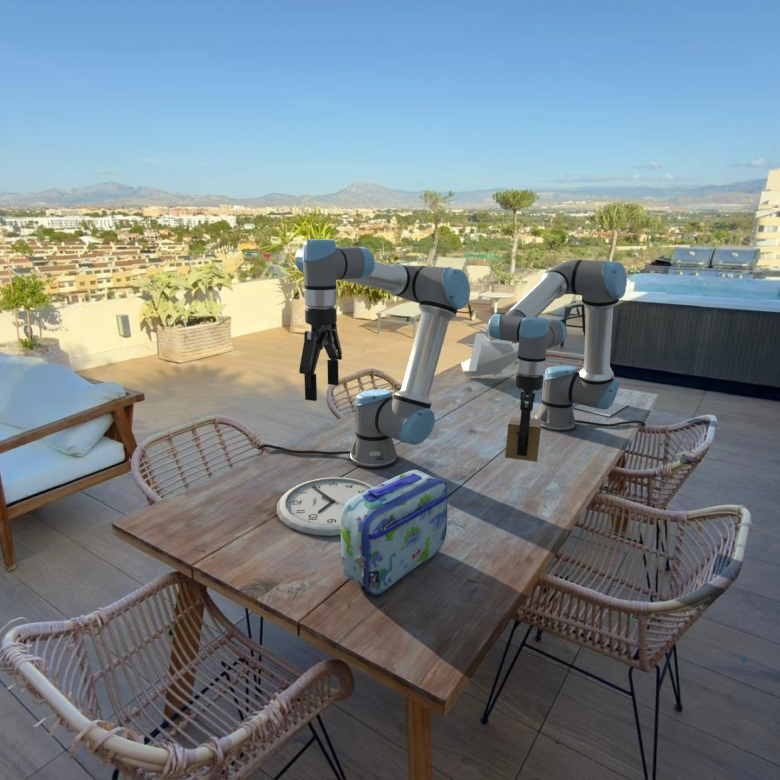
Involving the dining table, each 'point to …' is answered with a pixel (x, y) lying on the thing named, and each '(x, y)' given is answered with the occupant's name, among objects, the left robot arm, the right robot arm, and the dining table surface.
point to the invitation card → (606, 412)
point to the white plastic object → (490, 356)
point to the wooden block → (532, 439)
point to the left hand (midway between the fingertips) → (322, 392)
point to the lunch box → (393, 529)
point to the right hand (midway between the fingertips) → (522, 450)
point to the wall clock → (318, 504)
